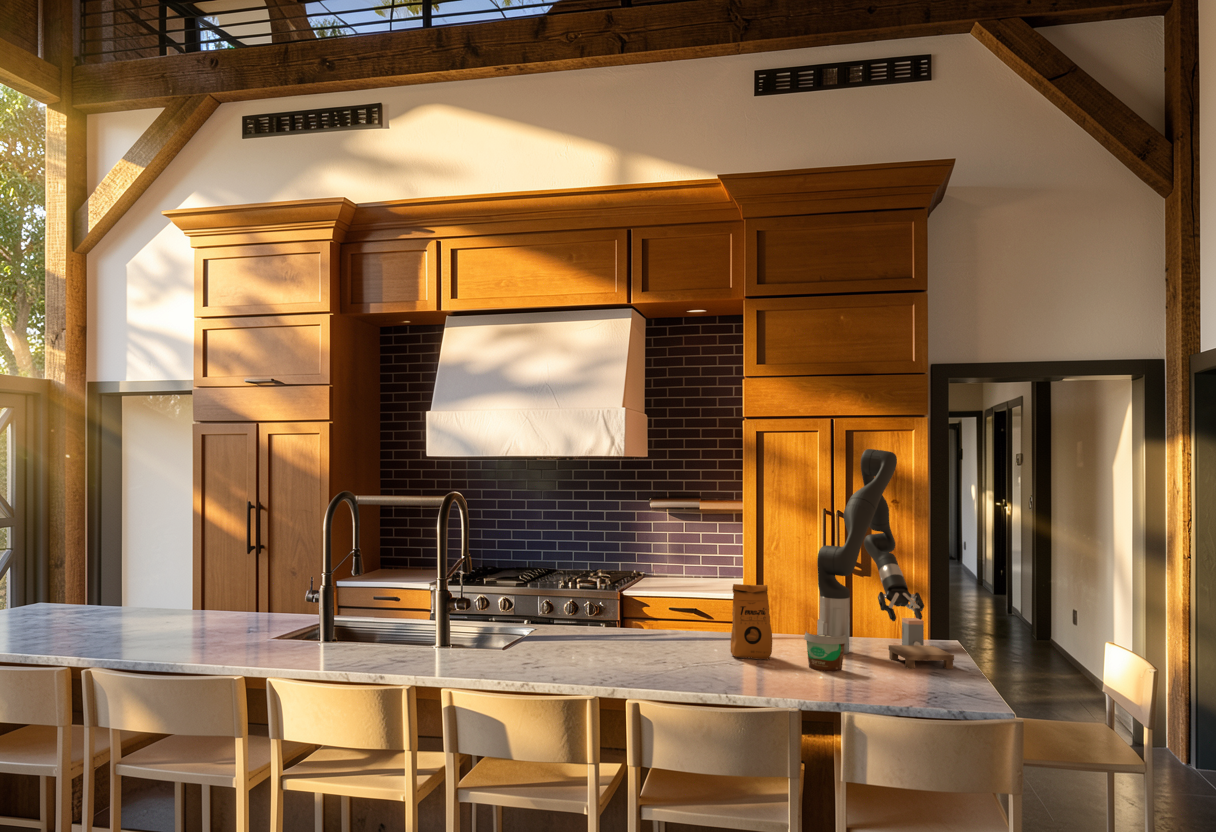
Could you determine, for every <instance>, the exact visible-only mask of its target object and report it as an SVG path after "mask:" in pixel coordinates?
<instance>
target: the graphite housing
mask: <svg viewBox="0 0 1216 832" xmlns="http://www.w3.org/2000/svg"><path fill="white" fill-rule="evenodd" d="M924 624H925V623H924V620H922V619H921V620H920V619H918V618H916V617H901V645H921V646H925V643H924V642H925V641H924V640H925V639H924V635H925V633H924V630H925V629H924V627H925V626H924Z"/></svg>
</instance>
